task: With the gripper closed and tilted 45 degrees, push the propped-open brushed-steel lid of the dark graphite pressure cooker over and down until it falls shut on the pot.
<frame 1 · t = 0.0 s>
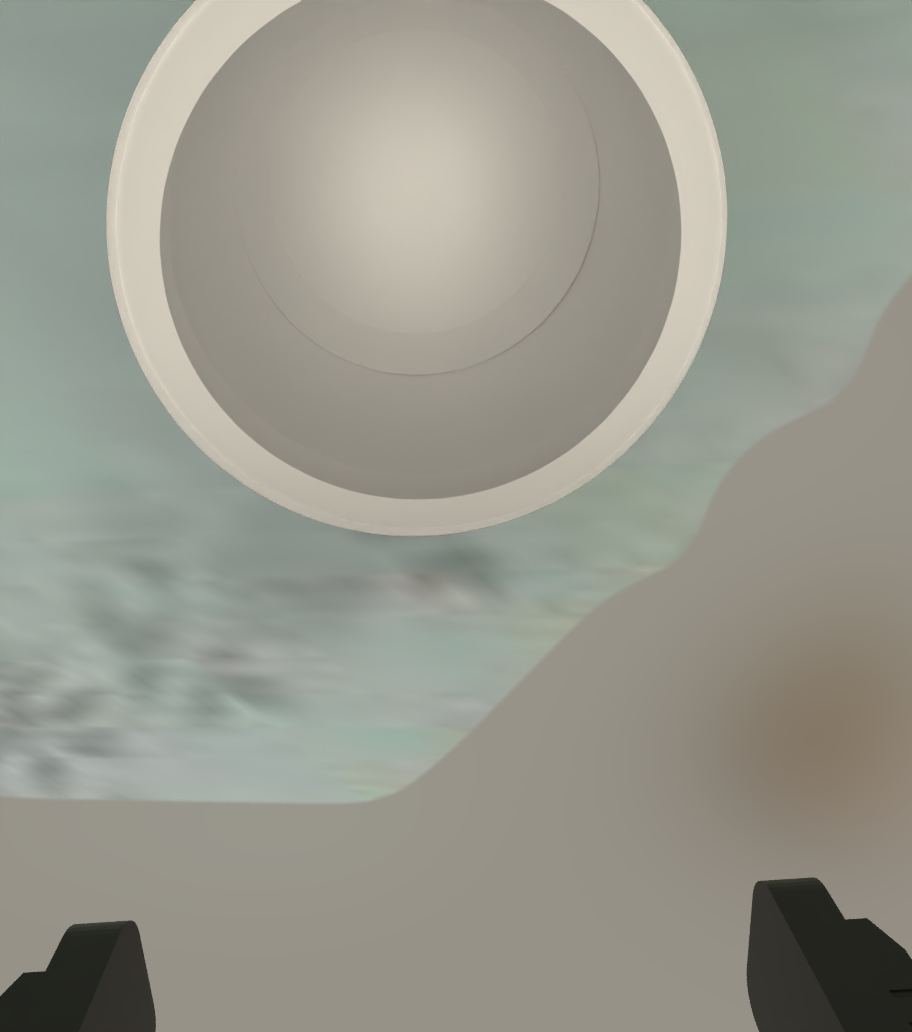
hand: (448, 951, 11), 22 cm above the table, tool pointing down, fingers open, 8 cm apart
jar: (417, 179, 28), on the table
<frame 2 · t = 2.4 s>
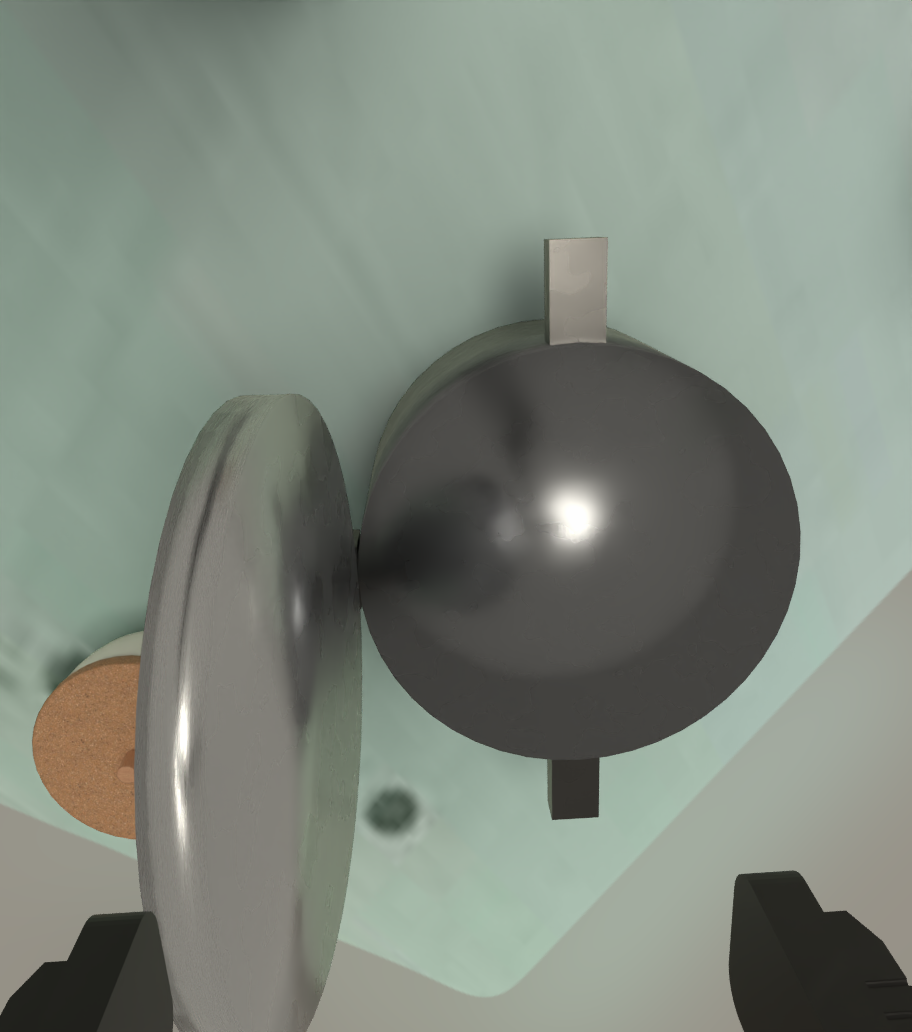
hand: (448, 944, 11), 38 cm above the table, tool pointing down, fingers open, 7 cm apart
lid: (270, 701, 29), point 21 cm above the table, hinge at 95.0°
cooker pot: (546, 497, 49), on the table
lidded jar: (177, 680, 52), on the table
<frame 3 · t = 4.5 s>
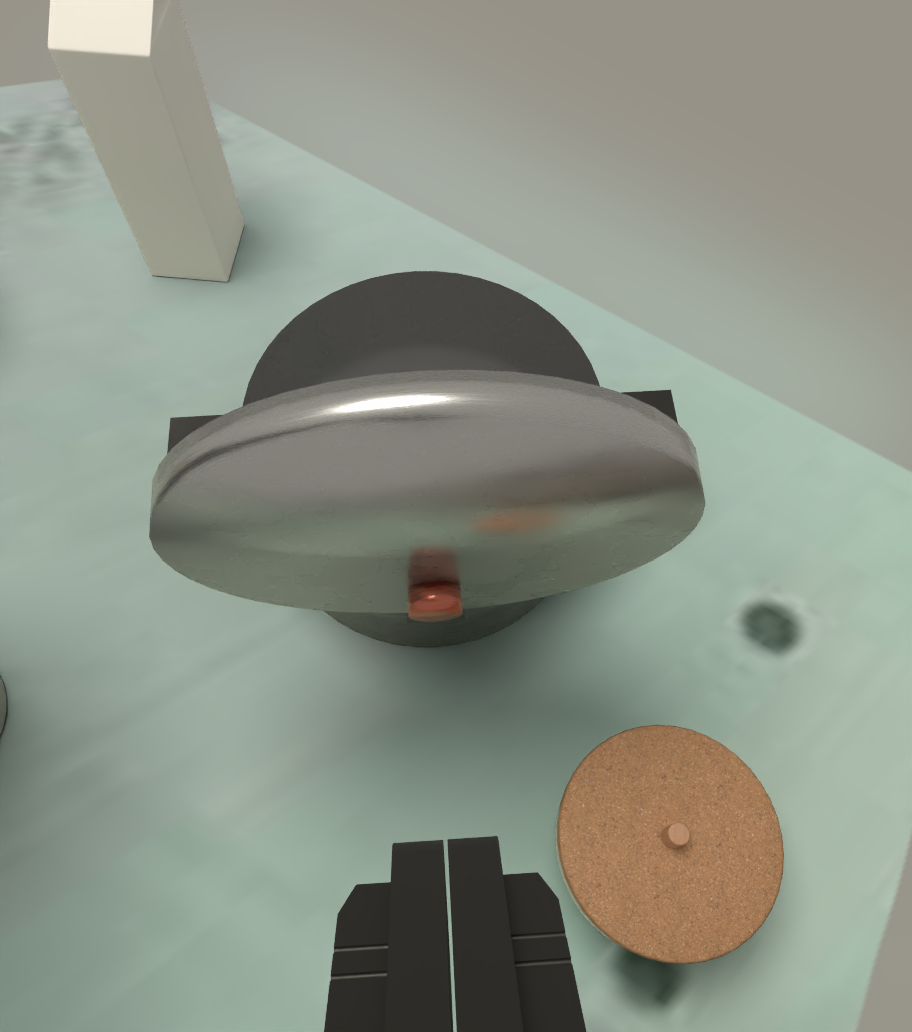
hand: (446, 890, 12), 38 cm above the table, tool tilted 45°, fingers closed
lid: (431, 539, 33), point 21 cm above the table, hinge at 95.0°
cooker pot: (428, 502, 57), on the table
milk: (199, 251, 67), on the table
lidded jar: (638, 851, 48), on the table
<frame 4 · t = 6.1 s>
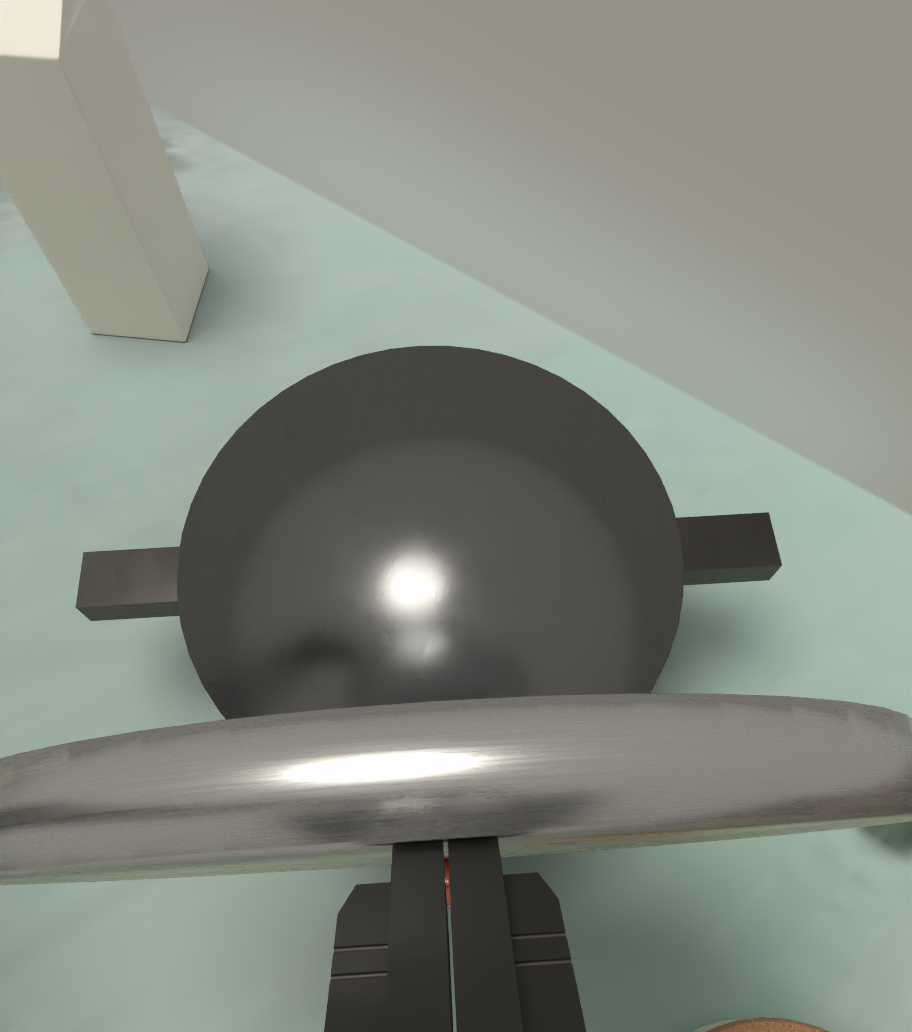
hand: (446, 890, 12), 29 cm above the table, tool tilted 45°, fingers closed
lid: (445, 844, 20), point 21 cm above the table, hinge at 93.9°, touching gripper
cooker pot: (436, 637, 44), on the table
milk: (152, 302, 54), on the table
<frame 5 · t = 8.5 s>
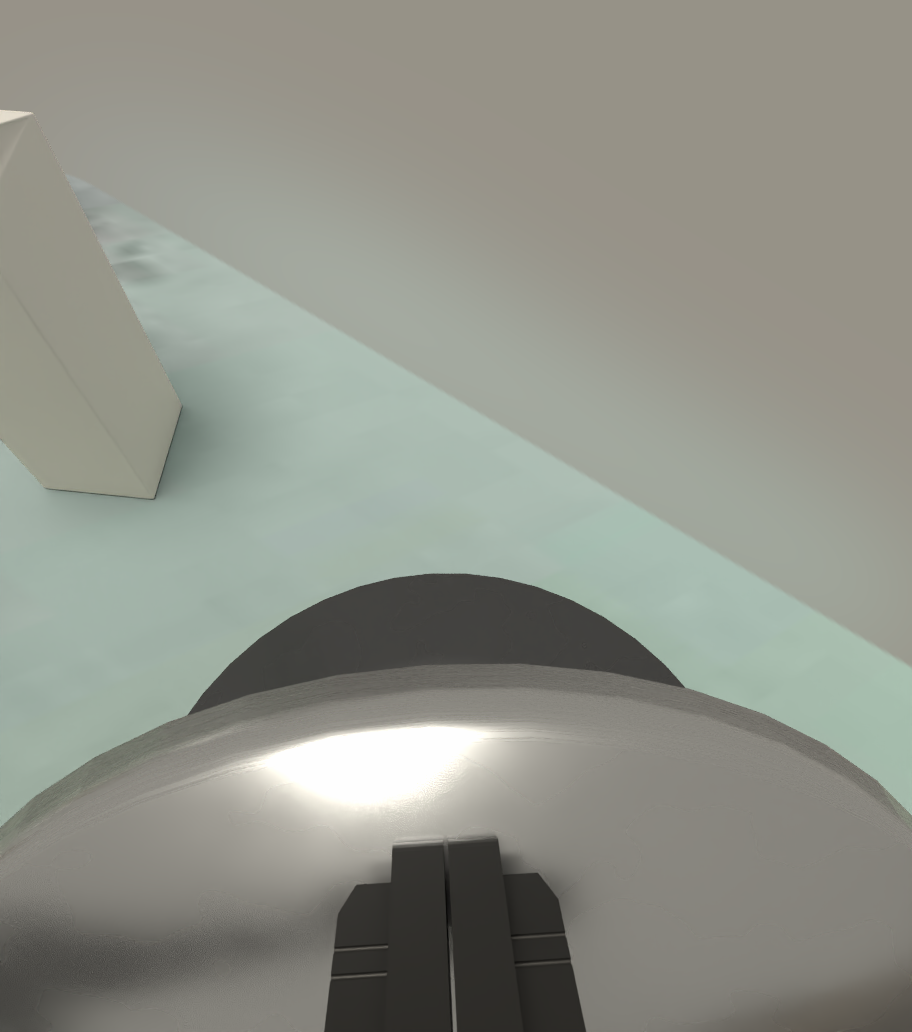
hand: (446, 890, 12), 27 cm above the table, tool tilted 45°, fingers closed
cooker pot: (448, 889, 37), on the table
milk: (116, 448, 47), on the table
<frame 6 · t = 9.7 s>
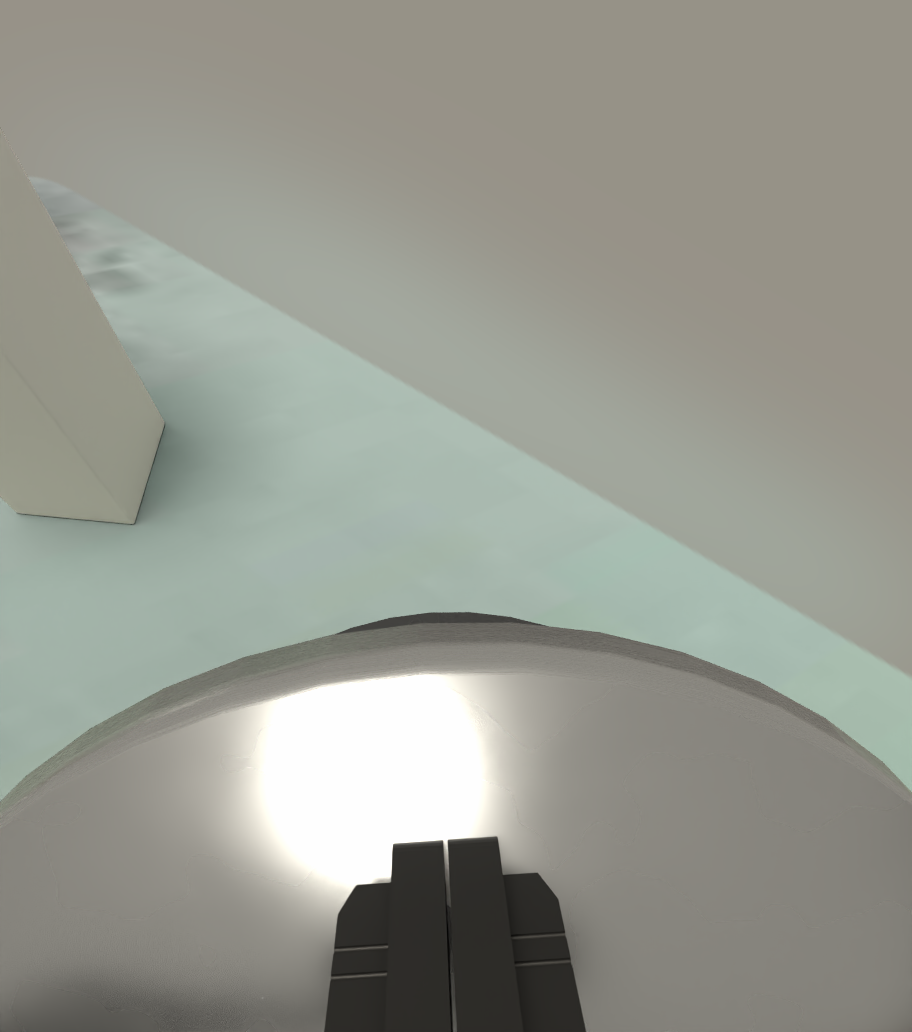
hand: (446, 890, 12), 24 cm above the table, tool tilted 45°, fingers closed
cooker pot: (453, 954, 34), on the table
milk: (94, 469, 44), on the table
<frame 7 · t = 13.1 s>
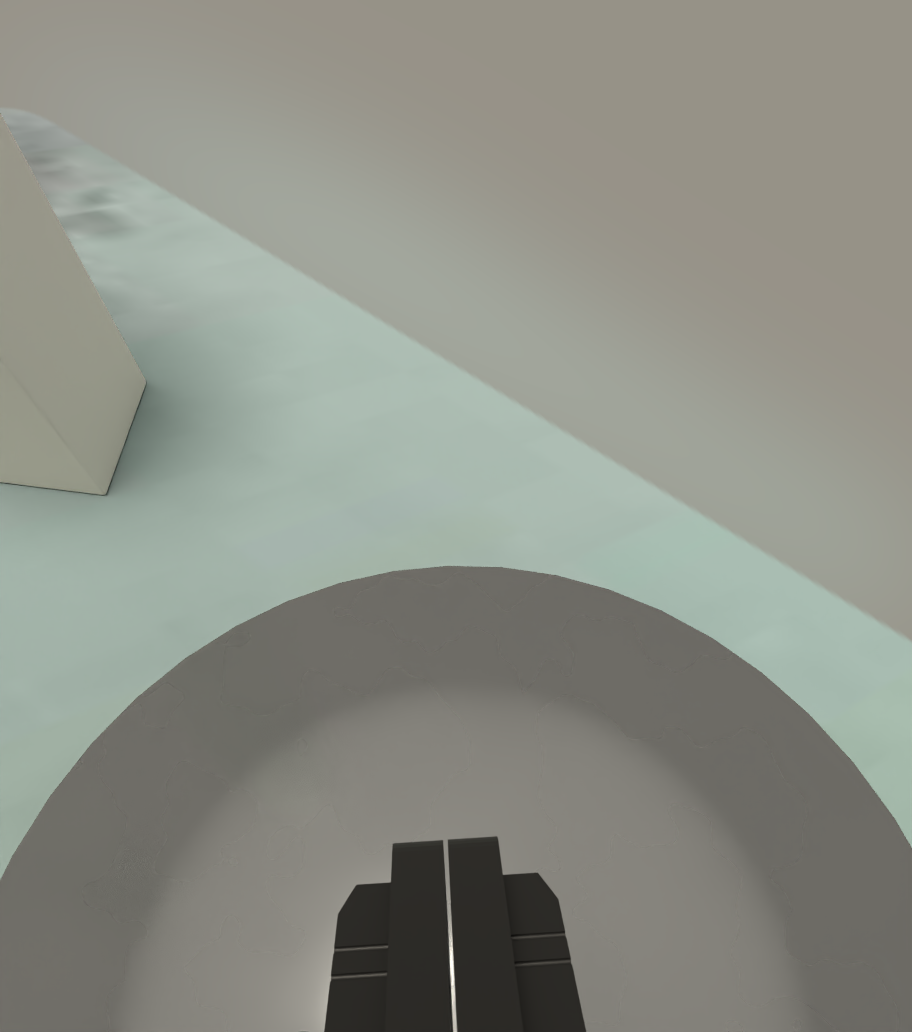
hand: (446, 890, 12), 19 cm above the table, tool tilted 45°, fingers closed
milk: (64, 431, 38), on the table
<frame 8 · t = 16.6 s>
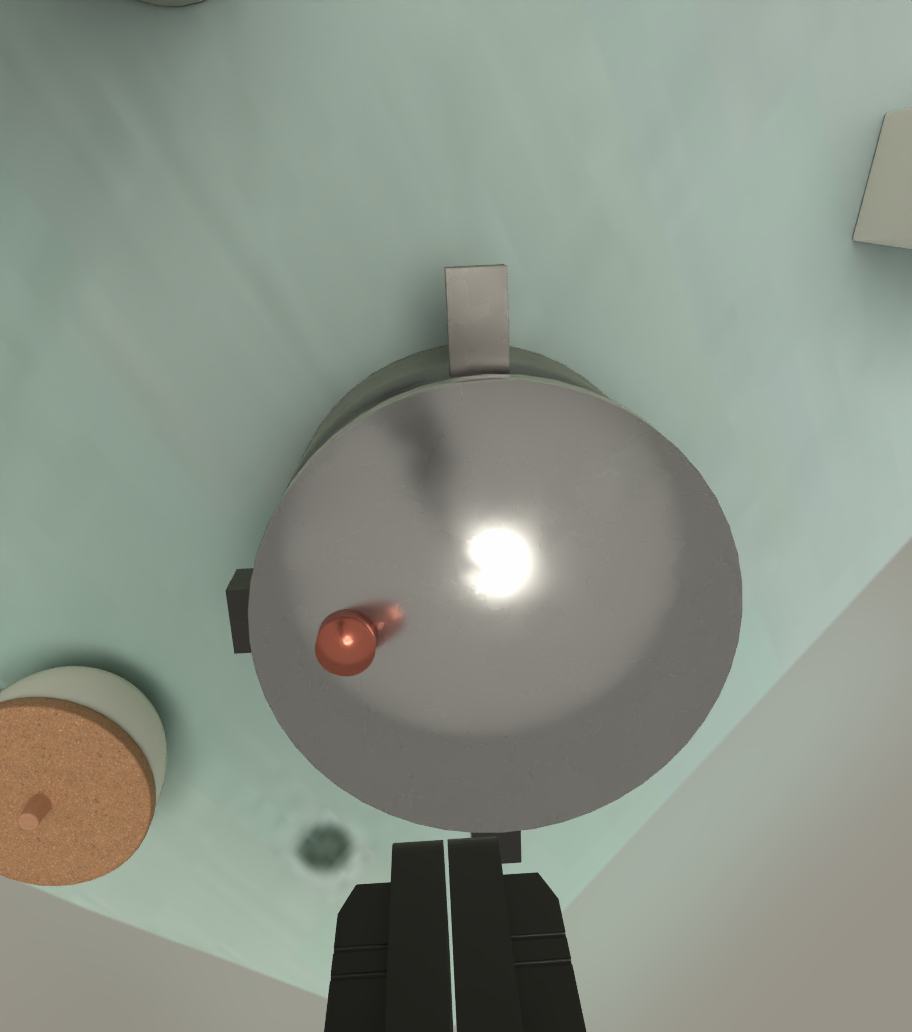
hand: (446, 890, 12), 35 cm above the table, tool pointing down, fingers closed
lid: (497, 625, 36), point 12 cm above the table, hinge at -0.1°
cooker pot: (474, 526, 48), on the table
lidded jar: (97, 715, 51), on the table
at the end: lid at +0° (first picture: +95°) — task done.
